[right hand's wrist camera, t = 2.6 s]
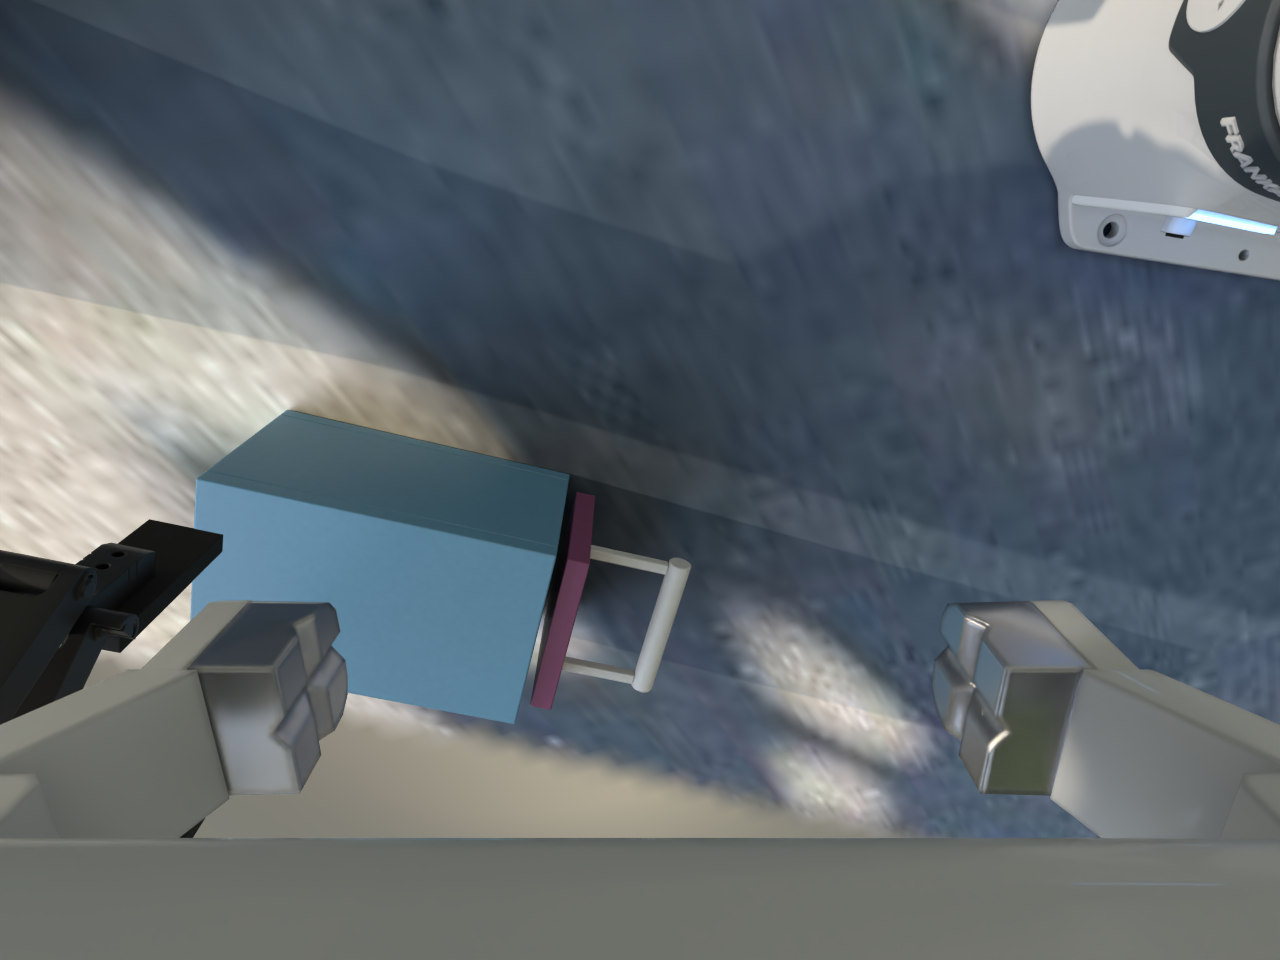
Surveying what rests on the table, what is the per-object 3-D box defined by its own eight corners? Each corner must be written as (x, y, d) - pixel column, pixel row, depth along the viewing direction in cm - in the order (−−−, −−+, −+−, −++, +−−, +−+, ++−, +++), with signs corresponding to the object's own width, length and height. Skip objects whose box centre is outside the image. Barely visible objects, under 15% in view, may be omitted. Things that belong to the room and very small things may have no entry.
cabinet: (570, 473, 48) (556, 556, 38) (535, 616, 52) (514, 724, 42) (287, 409, 46) (195, 478, 36) (273, 562, 50) (187, 663, 40)
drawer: (685, 515, 48) (698, 587, 40) (646, 640, 52) (651, 729, 44) (333, 435, 45) (271, 495, 37) (317, 572, 49) (258, 654, 41)
